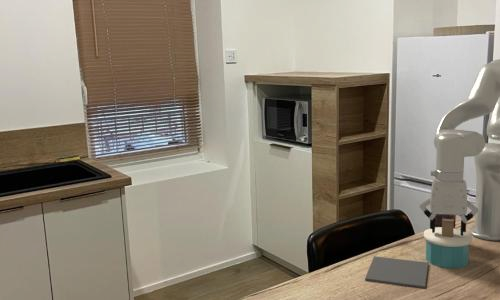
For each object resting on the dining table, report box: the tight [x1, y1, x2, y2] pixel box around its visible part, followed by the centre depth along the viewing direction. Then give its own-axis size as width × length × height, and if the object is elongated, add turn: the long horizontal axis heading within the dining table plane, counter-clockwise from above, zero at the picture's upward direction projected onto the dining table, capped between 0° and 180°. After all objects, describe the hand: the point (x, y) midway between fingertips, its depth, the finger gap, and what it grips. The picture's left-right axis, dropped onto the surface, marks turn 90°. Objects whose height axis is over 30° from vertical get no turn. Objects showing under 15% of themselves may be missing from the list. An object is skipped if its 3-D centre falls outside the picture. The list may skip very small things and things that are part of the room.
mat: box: [364, 256, 429, 289], centre depth 142 cm, size 16×16×1 cm
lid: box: [423, 219, 473, 247], centre depth 147 cm, size 14×14×6 cm
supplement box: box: [435, 214, 457, 229], centre depth 160 cm, size 9×5×16 cm, turn 143°
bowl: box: [425, 240, 470, 269], centre depth 148 cm, size 12×12×7 cm
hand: (447, 232), depth 147 cm, fingers open, 7 cm apart
